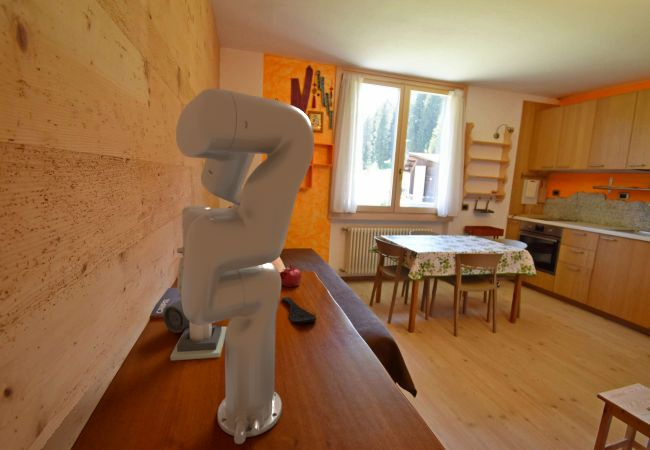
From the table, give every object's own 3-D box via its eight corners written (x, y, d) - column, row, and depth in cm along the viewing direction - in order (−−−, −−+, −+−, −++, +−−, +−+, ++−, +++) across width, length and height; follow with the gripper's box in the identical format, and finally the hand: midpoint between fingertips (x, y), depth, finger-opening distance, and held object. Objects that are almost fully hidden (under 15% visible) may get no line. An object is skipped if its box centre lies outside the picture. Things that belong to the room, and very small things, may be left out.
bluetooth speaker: (218, 306, 110) (213, 279, 109) (238, 307, 107) (234, 279, 106) (164, 336, 89) (158, 303, 88) (188, 338, 86) (182, 304, 85)
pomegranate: (301, 281, 139) (302, 261, 137) (301, 288, 129) (302, 267, 128) (279, 280, 138) (280, 260, 137) (277, 288, 128) (278, 267, 127)
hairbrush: (293, 291, 120) (321, 314, 98) (293, 299, 120) (321, 325, 98) (273, 294, 116) (297, 319, 94) (273, 303, 116) (297, 330, 94)
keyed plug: (209, 344, 82) (208, 321, 81) (189, 346, 81) (188, 322, 80) (212, 335, 87) (211, 312, 86) (193, 336, 86) (192, 313, 85)
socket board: (219, 357, 79) (219, 345, 79) (170, 360, 77) (170, 348, 76) (227, 330, 93) (226, 320, 92) (185, 332, 90) (185, 322, 90)
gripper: (163, 256, 75) (166, 324, 79) (225, 255, 78) (226, 321, 81) (172, 248, 83) (175, 311, 86) (229, 248, 85) (230, 309, 89)
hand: (200, 316), depth 84 cm, fingers closed
